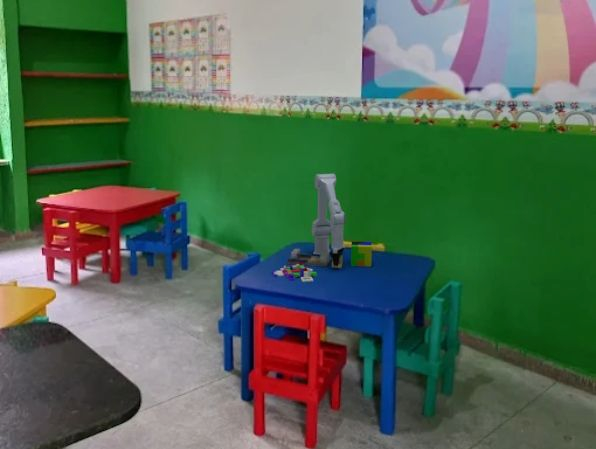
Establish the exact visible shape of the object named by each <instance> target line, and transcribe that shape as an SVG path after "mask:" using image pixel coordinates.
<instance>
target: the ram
mask: <svg viewBox="0 0 596 449" xmlns="http://www.w3.org/2000/svg"><path fill="white" fill-rule="evenodd" d="M290 254H291V255H290V258H291V259H298V258H299V257H300V254H301V248H294V249H293V250H292V251H291V253H290Z"/></svg>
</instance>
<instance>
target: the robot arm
mask: <svg viewBox="0 0 596 449" xmlns="http://www.w3.org/2000/svg"><path fill="white" fill-rule="evenodd" d="M336 176H337V175H336V174H335V173H322V174H321V173H316V175H315V177H314V188H315V189H316V190H317V218H316V219H315V220H313V221H312V223H311V224H312V225H311V235H312V236H313V237H314V251H313V253H312V254H313V255H320V254H321V253H322V252H323V250H326V251H329V256H330V257H331V261H332V260H333V264H334V266H338V264H339V259H340V256H342V257H343V253H344V250H345V249H346V246H347V245H344V226H345V224H346V221H347V220H346V219H347V218H346V214H345V212H344V211H343V209H342V207H341V204H340V201H339V200H338V199H337V196H336V190H335V188H336V184H337V177H336ZM328 210H329V214H330V216H329V217H330V218H329V219H328V218H327V216H328ZM330 236H331V246H329V245H330V239H329V238H330ZM330 247H331V249H332V250H331V249H330Z"/></svg>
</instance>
